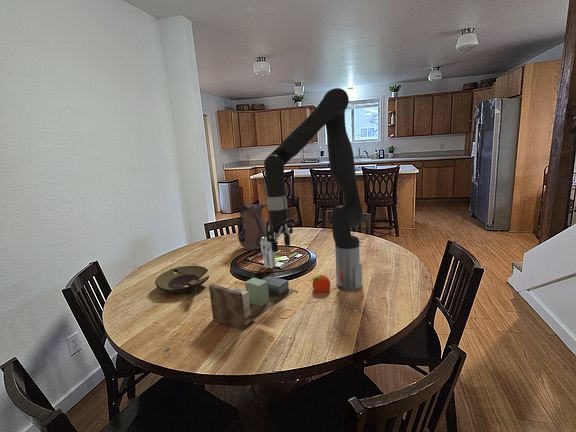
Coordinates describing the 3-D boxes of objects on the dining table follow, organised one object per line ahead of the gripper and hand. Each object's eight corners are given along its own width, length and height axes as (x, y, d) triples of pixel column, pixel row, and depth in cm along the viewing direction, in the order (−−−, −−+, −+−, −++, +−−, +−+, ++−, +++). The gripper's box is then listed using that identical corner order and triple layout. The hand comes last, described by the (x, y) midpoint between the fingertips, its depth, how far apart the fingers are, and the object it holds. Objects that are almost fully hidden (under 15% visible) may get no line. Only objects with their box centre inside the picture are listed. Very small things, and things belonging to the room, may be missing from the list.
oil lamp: (209, 272, 152) (207, 257, 151) (211, 299, 124) (208, 281, 122) (160, 279, 147) (158, 264, 146) (150, 310, 119) (146, 291, 117)
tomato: (313, 298, 119) (312, 280, 118) (307, 290, 126) (306, 274, 124) (333, 294, 121) (332, 277, 120) (326, 287, 128) (325, 270, 126)
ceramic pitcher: (235, 246, 189) (231, 205, 183) (268, 240, 197) (265, 200, 192) (244, 255, 173) (240, 210, 168) (279, 247, 182) (276, 204, 176)
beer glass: (270, 272, 147) (268, 241, 143) (259, 269, 151) (256, 239, 148) (280, 267, 152) (277, 237, 149) (269, 264, 156) (266, 235, 153)
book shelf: (296, 293, 124) (294, 262, 122) (242, 330, 101) (238, 294, 98) (269, 285, 133) (266, 257, 130) (213, 319, 109) (208, 285, 107)
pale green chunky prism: (269, 301, 117) (267, 281, 115) (261, 306, 113) (259, 285, 112) (255, 297, 121) (253, 277, 119) (246, 302, 117) (244, 282, 116)
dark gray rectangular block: (289, 291, 124) (288, 280, 123) (279, 297, 119) (278, 286, 118) (269, 285, 130) (268, 275, 129) (259, 291, 125) (258, 281, 124)
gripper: (275, 211, 113) (279, 254, 116) (295, 204, 125) (299, 244, 128) (258, 211, 117) (263, 252, 120) (280, 204, 129) (283, 242, 132)
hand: (281, 248), depth 124 cm, fingers open, 8 cm apart
